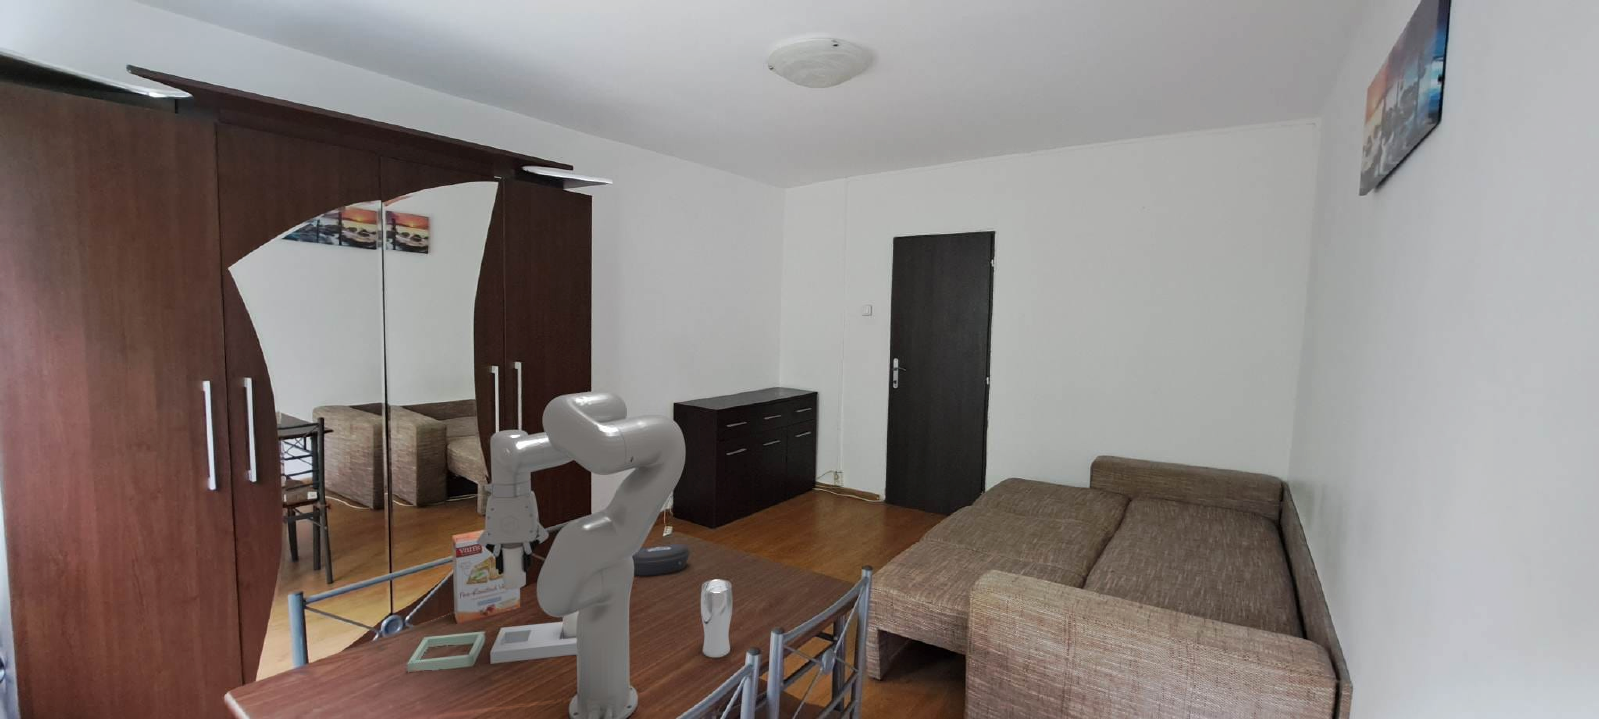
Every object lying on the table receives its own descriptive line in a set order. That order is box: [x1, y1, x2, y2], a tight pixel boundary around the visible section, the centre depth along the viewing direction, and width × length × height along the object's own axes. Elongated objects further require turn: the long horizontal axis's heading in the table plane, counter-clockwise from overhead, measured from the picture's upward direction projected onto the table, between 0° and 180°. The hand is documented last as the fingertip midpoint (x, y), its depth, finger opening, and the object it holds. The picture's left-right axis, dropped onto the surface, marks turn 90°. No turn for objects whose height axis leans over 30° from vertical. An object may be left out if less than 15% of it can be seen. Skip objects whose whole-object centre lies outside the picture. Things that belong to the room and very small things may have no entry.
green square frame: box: [406, 631, 486, 671], centre depth 134 cm, size 10×12×3 cm
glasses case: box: [632, 543, 691, 577], centre depth 180 cm, size 18×10×8 cm, turn 111°
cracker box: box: [451, 529, 521, 625], centre depth 152 cm, size 14×6×21 cm, turn 126°
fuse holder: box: [489, 621, 577, 665], centre depth 138 cm, size 10×20×4 cm, turn 104°
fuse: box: [562, 611, 579, 639], centre depth 139 cm, size 5×5×11 cm
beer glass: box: [700, 578, 733, 659], centre depth 139 cm, size 7×7×15 cm
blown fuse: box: [502, 543, 527, 589], centre depth 135 cm, size 5×5×11 cm
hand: (514, 569), depth 135 cm, fingers closed on blown fuse, 4 cm apart
